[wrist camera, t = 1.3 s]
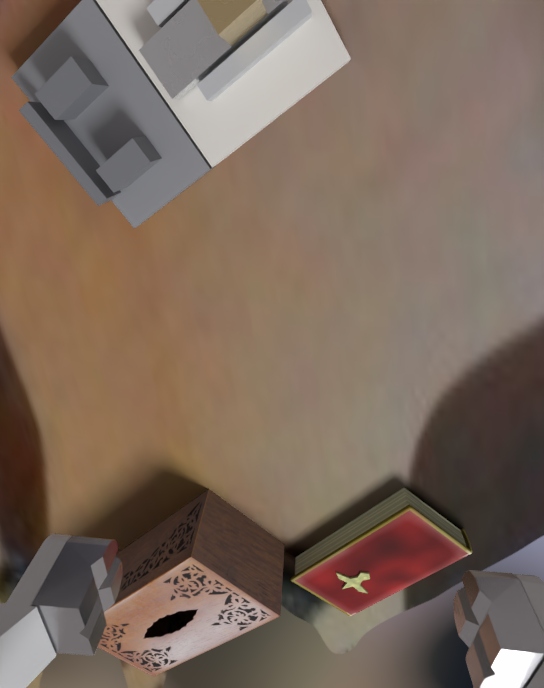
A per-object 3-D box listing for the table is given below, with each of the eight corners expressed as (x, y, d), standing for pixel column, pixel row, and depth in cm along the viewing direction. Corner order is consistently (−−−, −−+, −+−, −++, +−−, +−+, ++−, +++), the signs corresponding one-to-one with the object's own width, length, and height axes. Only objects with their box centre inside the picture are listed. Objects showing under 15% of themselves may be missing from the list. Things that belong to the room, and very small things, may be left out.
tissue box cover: (172, 606, 71) (153, 676, 62) (101, 563, 66) (69, 632, 58) (284, 543, 61) (280, 616, 52) (209, 487, 56) (190, 556, 48)
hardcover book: (464, 527, 57) (474, 556, 53) (349, 590, 65) (352, 619, 62) (403, 481, 54) (410, 508, 50) (291, 554, 62) (290, 582, 58)
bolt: (257, -52, 28) (243, -97, 22) (288, 4, 29) (282, -24, 23) (148, 53, 31) (108, 39, 25) (179, 99, 33) (149, 97, 27)
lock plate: (240, -150, 28) (227, -199, 23) (348, 61, 33) (354, 54, 28) (26, 78, 35) (-15, 74, 30) (142, 223, 40) (121, 237, 35)
